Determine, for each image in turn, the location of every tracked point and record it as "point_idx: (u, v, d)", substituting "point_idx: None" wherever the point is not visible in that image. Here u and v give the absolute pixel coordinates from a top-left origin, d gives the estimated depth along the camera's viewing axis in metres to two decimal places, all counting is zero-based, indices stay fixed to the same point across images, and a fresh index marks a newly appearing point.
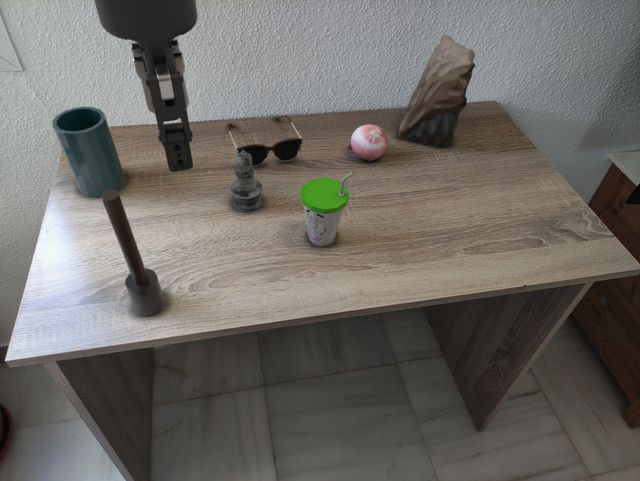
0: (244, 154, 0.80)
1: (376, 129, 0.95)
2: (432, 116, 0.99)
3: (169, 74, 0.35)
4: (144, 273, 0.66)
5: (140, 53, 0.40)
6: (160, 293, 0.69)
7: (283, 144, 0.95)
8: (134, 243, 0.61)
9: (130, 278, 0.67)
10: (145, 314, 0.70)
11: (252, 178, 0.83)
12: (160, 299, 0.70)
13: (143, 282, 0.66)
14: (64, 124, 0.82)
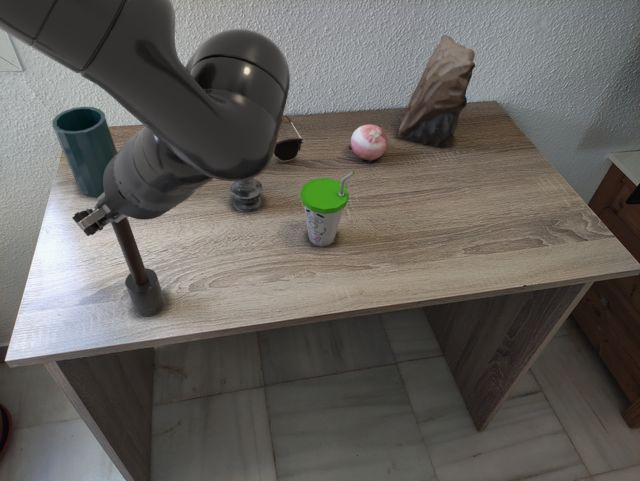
0: None
1: (376, 129, 0.95)
2: (432, 116, 0.99)
3: (84, 229, 0.48)
4: (144, 273, 0.66)
5: None
6: (160, 293, 0.69)
7: (283, 144, 0.95)
8: (134, 243, 0.61)
9: (130, 278, 0.67)
10: (145, 314, 0.69)
11: (252, 178, 0.83)
12: (160, 299, 0.70)
13: (143, 282, 0.66)
14: (64, 124, 0.82)
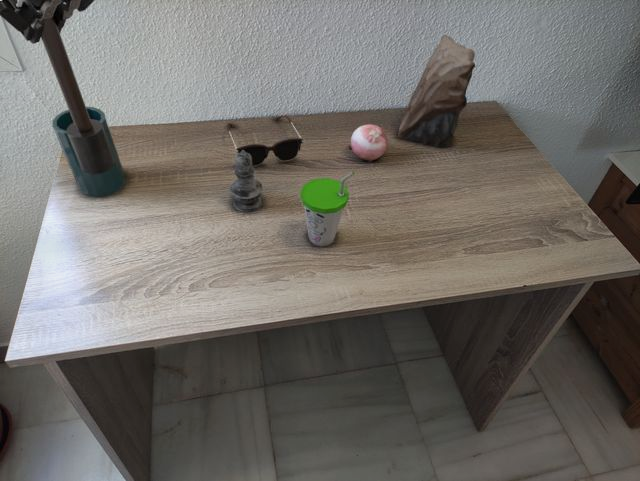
0: (244, 154, 0.80)
1: (376, 129, 0.95)
2: (432, 116, 0.99)
3: None
4: (86, 117, 0.60)
5: None
6: (107, 148, 0.64)
7: (283, 144, 0.95)
8: (71, 72, 0.56)
9: (73, 126, 0.62)
10: (91, 171, 0.64)
11: (252, 178, 0.83)
12: (107, 155, 0.64)
13: (86, 129, 0.61)
14: (64, 124, 0.82)
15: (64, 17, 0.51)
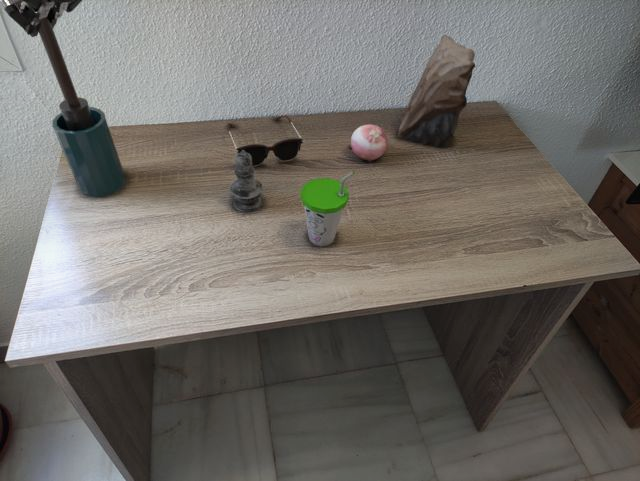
0: (244, 154, 0.80)
1: (376, 129, 0.95)
2: (432, 116, 0.99)
3: (5, 7, 0.59)
4: (75, 95, 0.77)
5: None
6: (92, 120, 0.80)
7: (283, 144, 0.95)
8: (62, 59, 0.72)
9: (64, 103, 0.78)
10: None
11: (252, 178, 0.83)
12: (92, 126, 0.80)
13: (74, 104, 0.77)
14: (64, 124, 0.82)
15: (56, 17, 0.68)
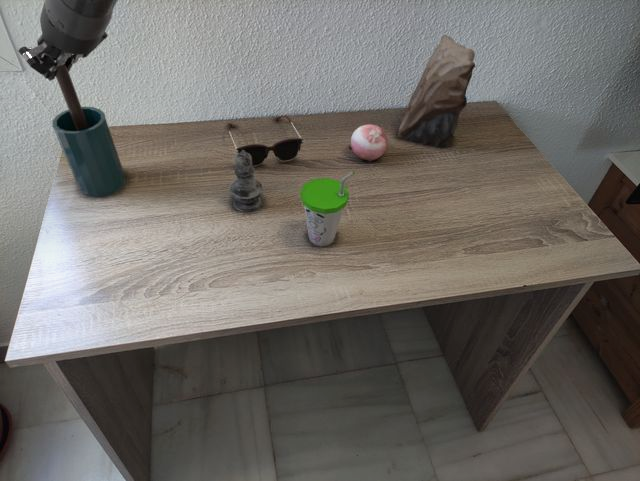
0: (244, 154, 0.80)
1: (376, 129, 0.95)
2: (432, 116, 0.99)
3: (27, 59, 0.64)
4: None
5: None
6: None
7: (283, 144, 0.95)
8: (77, 99, 0.77)
9: None
10: None
11: (252, 178, 0.83)
12: None
13: None
14: (64, 124, 0.82)
15: (72, 62, 0.73)
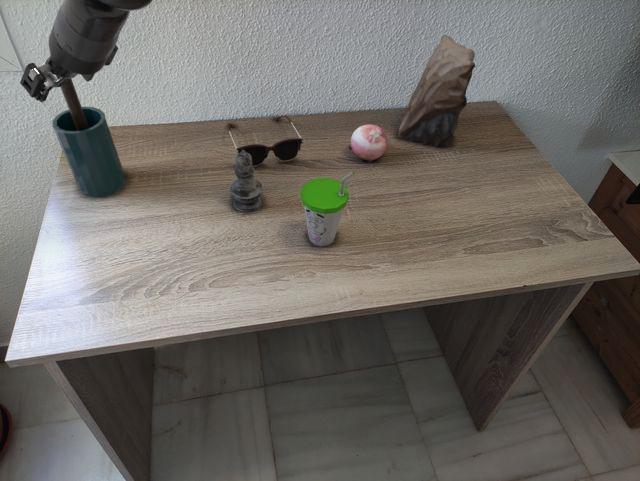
0: (244, 154, 0.80)
1: (376, 129, 0.95)
2: (432, 116, 0.99)
3: (37, 74, 0.65)
4: None
5: None
6: None
7: (283, 144, 0.95)
8: (83, 117, 0.80)
9: None
10: None
11: (252, 178, 0.83)
12: None
13: None
14: (64, 124, 0.82)
15: None
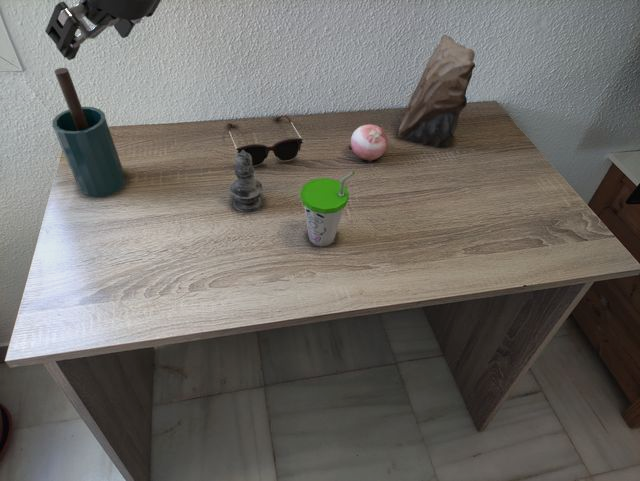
0: (244, 154, 0.80)
1: (376, 129, 0.95)
2: (432, 116, 0.99)
3: (69, 17, 0.51)
4: None
5: None
6: None
7: (283, 144, 0.95)
8: (83, 117, 0.80)
9: None
10: None
11: (252, 178, 0.83)
12: None
13: None
14: (64, 124, 0.82)
15: (135, 22, 0.62)
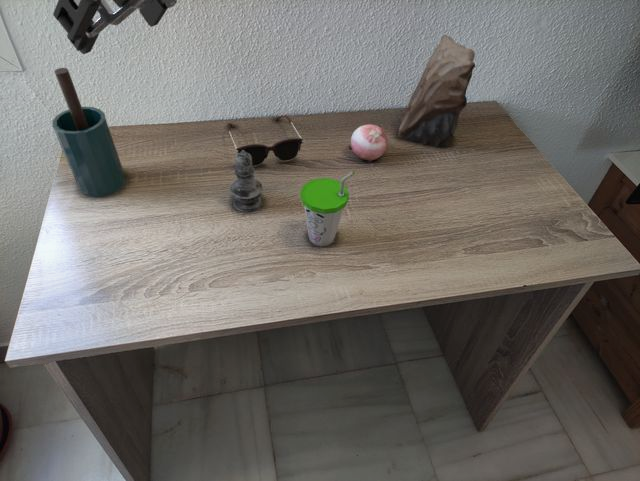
0: (244, 154, 0.80)
1: (376, 129, 0.95)
2: (432, 116, 0.99)
3: None
4: None
5: None
6: None
7: (283, 144, 0.95)
8: (83, 117, 0.80)
9: None
10: None
11: (252, 178, 0.83)
12: None
13: None
14: (64, 124, 0.82)
15: (169, 5, 0.48)
